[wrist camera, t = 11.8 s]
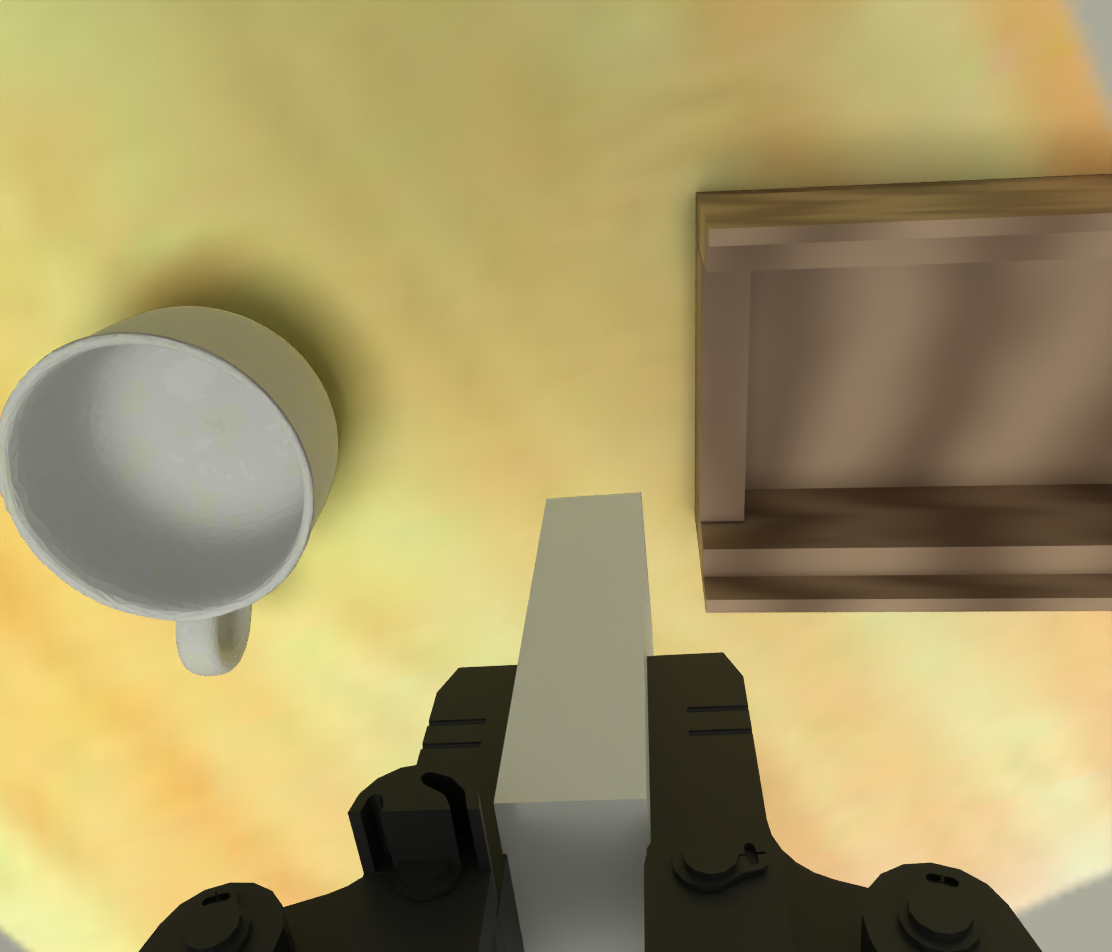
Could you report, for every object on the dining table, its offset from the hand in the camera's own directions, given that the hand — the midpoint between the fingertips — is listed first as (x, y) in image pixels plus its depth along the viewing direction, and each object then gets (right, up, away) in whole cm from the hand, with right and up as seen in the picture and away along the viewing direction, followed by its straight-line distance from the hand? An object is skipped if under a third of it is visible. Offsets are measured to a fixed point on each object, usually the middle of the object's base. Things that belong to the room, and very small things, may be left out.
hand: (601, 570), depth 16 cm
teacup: (-14, +3, +25) cm, 29 cm away
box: (+14, +6, +21) cm, 26 cm away
